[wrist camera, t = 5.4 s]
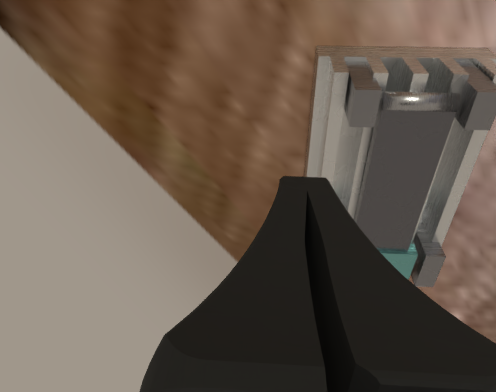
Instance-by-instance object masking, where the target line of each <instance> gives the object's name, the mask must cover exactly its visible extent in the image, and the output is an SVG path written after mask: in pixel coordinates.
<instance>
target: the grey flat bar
mask: <svg viewBox="0 0 496 392" xmlns="http://www.w3.org/2000/svg"><path fill="white" fill-rule="evenodd" d="M460 101H461V98H460V94H459V93H447V92H395V91H382V92H381V96H380V101H379V106H378V111H377V116H376V121H375V125H374V129H373V134H372V138H371V143H370V148H369V152H368V157H367V162H366V167H365V171H364V176H363V181H362V185H361V190H360V195H359V199H358V204H357V209H356V213H355V218H354V221H355V222H356V224H357V225H358V226H359V228H360V229H361V230H362V231H363V233H364V234H365V235H366V236H367V238H368V239H369V240H370V241H371V242H372V244H373V245H374V246H375V247H376V248H377V249H378V250H379V252H380V253H381V254H382V255H383V256H384V257H385V258H386V259H387V260H388V261H389V262H390V263H391V264H392V265H393V266H394V267H395V268H396V269H397V270H398V271H399V272H400V273H401V274H402V275H403V276H404V277H405V278H407V279H409V277H410V275H411V272H412V269H413V267H414V264H415V261H416V259H417V256H418V254H417V251H416V248H415V245H414V244H410V243H411V240H412V237H413V234H414V232H415V229H416V226H417V223H418V220H419V217H420V214H421V212H422V209H423V206H424V203H425V200H426V197H427V194H428V192H429V189H430V186H431V183H432V180H433V177H434V174H435V172H436V169H437V166H438V163H439V160H440V157H441V154H442V152H443V149H444V146H445V143H446V140H447V137H448V134H449V132H450V129H451V126H452V123H453V120H454V117H455V114H456V112H457V111H458V109H459V106H460Z"/></svg>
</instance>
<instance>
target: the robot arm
mask: <svg viewBox="0 0 496 392" xmlns="http://www.w3.org/2000/svg"><path fill="white" fill-rule="evenodd" d="M140 392H496V344H495V343H494V342H492V341H491V340H489V339H488V338H486V337H484V336H483V335H481V334H480V333H478V332H477V331H475V330H473V329H472V328H470V327H469V326H467V325H466V324H464V323H463V322H461V321H460V320H459V319H457V318H456V317H455V316H453V315H452V314H450V313H449V312H448V311H446V310H445V309H443V308H442V307H441V306H439V305H438V304H437V303H436V302H434V301H433V300H432V299H430V298H429V297H428V296H427V295H426V294H424V293H423V292H422V291H421V290H420V289H418V288H417V287H416V286H415V285H414V284H412V283H411V282H410V281H409V280H408V279H407V278H405V277H404V276H403V275H402V274H401V273H400V272H399V271H398V270H397V269H396V268H395V267H394V266H393V265H392V264H391V263H390V262H389V261H388V260H387V259H386V258H385V257H384V256H383V255H382V254H381V253H380V252H379V250H378V249H377V248H376V247H375V246H374V245H373V244H372V242H371V241H370V240H369V239H368V238H367V236H366V235H365V234H364V233H363V231H362V230H361V229H360V228H359V226H358V225H357V224H356V222H355V221H354V219H353V218H352V217H351V215H350V214H349V213H348V211H347V210H346V208H345V207H344V205H343V204H342V202H341V201H340V199H339V197H338V196H337V194H336V193H335V191H334V189H333V187H332V186H331V184H330V182H329V181H328V179H327V178H324V177H292V176H283V177H282V178H281V179H280V183H279V188H278V192H277V195H276V197H275V200H274V203H273V205H272V207H271V209H270V211H269V213H268V216H267V218H266V220H265V222H264V223H263V225H262V227H261V229H260V230H259V232H258V234H257V235H256V237H255V239H254V240H253V242H252V244H251V245H250V247H249V248H248V250H247V251H246V252H245V254H244V255H243V257H242V258H241V259H240V261H239V262H238V263H237V265H236V266H235V267H234V268H233V269H232V271H231V272H230V273H229V274H228V276H227V277H226V278H225V279H224V280H223V281H222V282H221V284H220V285H219V286H218V287H217V288H216V289H215V290H214V291H213V292H212V293H211V294H210V295H209V296H208V297H207V298H206V299H205V300H204V301H203V302H202V303H201V304H200V305H199V306H198V307H197V308H196V309H195V310H193V312H191V313H190V314H189V315H188V316H187V317H185V318H184V319H183V320H182V321H181V322H179V323H178V324H177V325H176V326H175V327H174V328H172V329H171V330H170V331H169V332H167V333H166V334H165V335H164V337H163V339H162V340H161V342H160V344H159V346H158V348H157V350H156V351H155V354H154V356H153V358H152V360H151V362H150V364H149V366H148V369H147V371H146V374H145V376H144V379H143V382H142V385H141V389H140Z"/></svg>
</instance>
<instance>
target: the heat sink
mask: <svg viewBox="0 0 496 392" xmlns="http://www.w3.org/2000/svg"><path fill="white" fill-rule="evenodd" d="M382 91H395V92H447V93H459V94H460V98H461V101H460V106H459V109H458V111H457V112H456V114H455V117H454V120H453V123H452V126H451V129H450V132H449V134H448V137H447V140H446V143H445V146H444V149H443V152H442V154H441V157H440V160H439V163H438V166H437V169H436V172H435V174H434V177H433V180H432V183H431V186H430V189H429V192H428V194H427V197H426V200H425V203H424V206H423V209H422V212H421V214H420V217H419V220H418V223H417V226H416V229H415V232H414V234H413V237H412V240H411V243H410V244H414V245H415V248H416V251H417V254H418V256H417V259H416V261H415V264H414V267H413V269H412V272H411V276H412V279H413V282H414V285H415V286H418V287H433V286H434V284H435V281H436V279H437V277H438V274H439V272H440V270H441V267H442V265H443V262H444V260H445V258H446V256H445V254H444V252H443V250H442V247H441V246H442V244H443V241H444V239H445V236H446V234H447V231H448V229H449V226H450V224H451V221H452V219H453V216H454V214H455V211H456V209H457V206H458V204H459V201H460V199H461V197H462V194H463V192H464V189H465V187H466V184H467V182H468V179H469V177H470V174H471V172H472V169H473V167H474V164H475V162H476V159H477V157H478V154H479V152H480V149H481V147H482V145H483V142H484V140H485V137H486V135H487V132H488V130H490V128H491V126H492V123H493V121H494V118H495V116H496V54H494V53H493V52H492V51H491V50H489V49H488V48H430V47H351V46H316V55H315V65H314V76H313V87H312V97H311V108H310V118H309V129H308V139H307V150H306V160H305V171H304V177H324V178H327V179H328V181H329V182H330V184H331V186H332V187H333V189H334V191H335V193H336V194H337V196H338V197H339V199H340V201H341V202H342V204H343V205H344V207H345V208H346V210H347V211H348V213H349V214H350V215H351V217H352V218H353V219H354V218H355V213H356V209H357V204H358V199H359V195H360V190H361V185H362V181H363V176H364V171H365V167H366V162H367V157H368V152H369V148H370V143H371V138H372V134H373V129H374V125H375V121H376V116H377V111H378V106H379V101H380V96H381V92H382Z"/></svg>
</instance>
